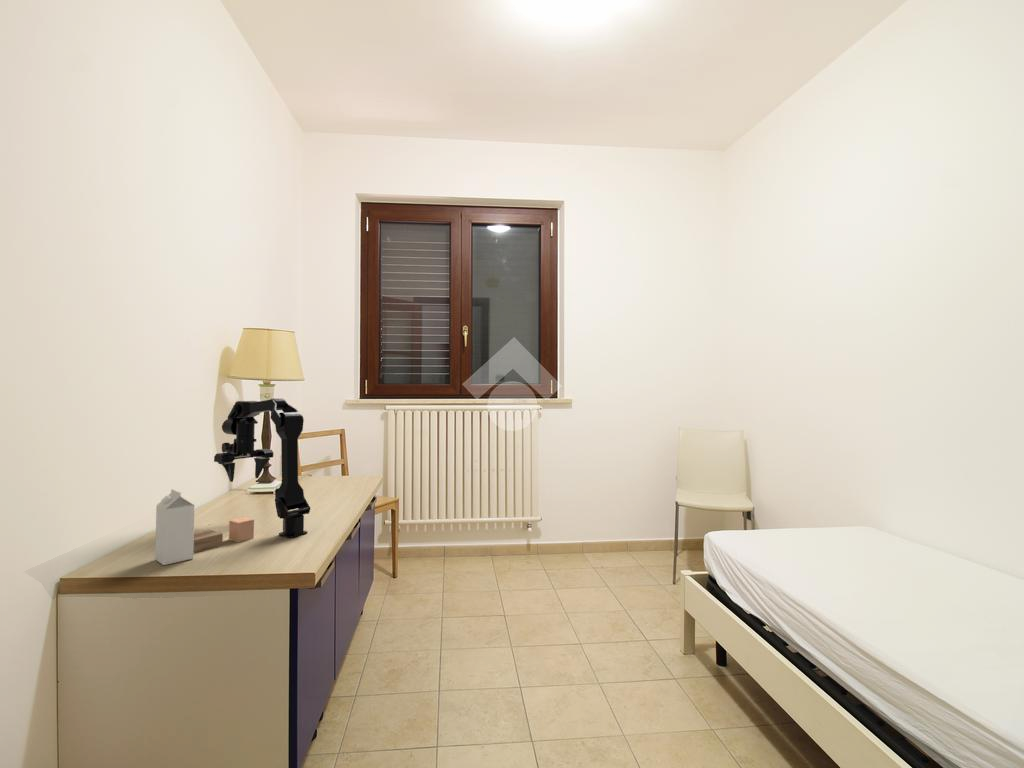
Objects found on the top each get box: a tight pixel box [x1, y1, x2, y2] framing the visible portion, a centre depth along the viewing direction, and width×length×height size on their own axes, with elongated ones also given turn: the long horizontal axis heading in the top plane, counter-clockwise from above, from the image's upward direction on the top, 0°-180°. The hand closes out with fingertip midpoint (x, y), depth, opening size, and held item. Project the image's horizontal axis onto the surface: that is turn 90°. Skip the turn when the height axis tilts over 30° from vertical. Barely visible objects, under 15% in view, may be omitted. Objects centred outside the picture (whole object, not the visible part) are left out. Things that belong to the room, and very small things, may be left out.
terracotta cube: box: [228, 516, 255, 543], centre depth 158 cm, size 5×5×6 cm
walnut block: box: [193, 528, 224, 554], centre depth 149 cm, size 8×8×4 cm
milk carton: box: [154, 488, 195, 566], centre depth 138 cm, size 7×7×19 cm
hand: (244, 479), depth 178 cm, fingers open, 9 cm apart
